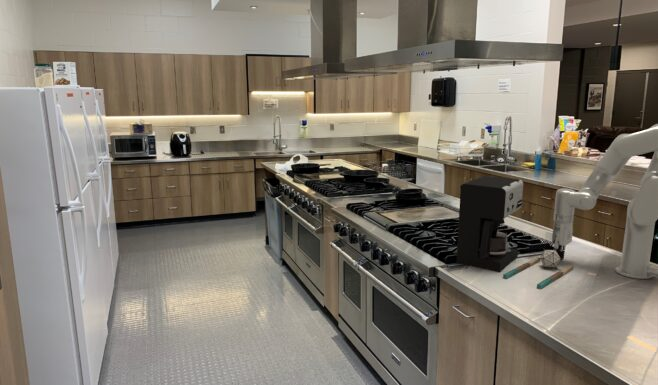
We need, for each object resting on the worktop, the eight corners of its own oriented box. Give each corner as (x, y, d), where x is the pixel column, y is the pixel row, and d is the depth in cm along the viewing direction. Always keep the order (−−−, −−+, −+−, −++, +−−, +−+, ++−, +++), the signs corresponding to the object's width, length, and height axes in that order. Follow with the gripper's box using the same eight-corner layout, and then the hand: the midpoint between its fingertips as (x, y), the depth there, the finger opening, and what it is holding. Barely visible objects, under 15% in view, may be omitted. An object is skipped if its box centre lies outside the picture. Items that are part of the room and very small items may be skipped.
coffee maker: (498, 275, 192) (504, 189, 185) (451, 265, 204) (456, 184, 197) (519, 257, 214) (525, 179, 207) (476, 248, 226) (480, 174, 218)
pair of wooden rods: (572, 269, 199) (573, 265, 199) (540, 289, 179) (541, 285, 179) (536, 260, 210) (537, 257, 209) (502, 278, 190) (503, 274, 190)
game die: (550, 274, 203) (562, 254, 204) (557, 274, 195) (570, 254, 196) (531, 262, 205) (543, 243, 206) (537, 262, 196) (550, 241, 197)
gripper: (565, 222, 196) (560, 265, 200) (579, 216, 206) (575, 257, 209) (546, 219, 201) (542, 260, 205) (561, 213, 211) (557, 253, 215)
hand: (559, 259), depth 207 cm, fingers closed
